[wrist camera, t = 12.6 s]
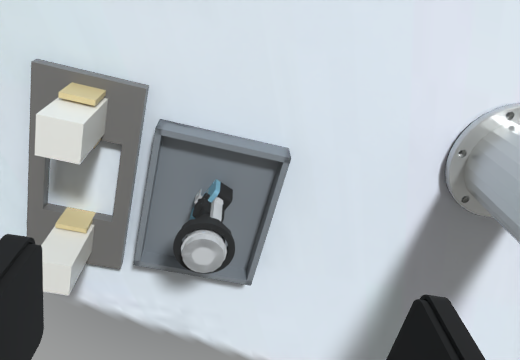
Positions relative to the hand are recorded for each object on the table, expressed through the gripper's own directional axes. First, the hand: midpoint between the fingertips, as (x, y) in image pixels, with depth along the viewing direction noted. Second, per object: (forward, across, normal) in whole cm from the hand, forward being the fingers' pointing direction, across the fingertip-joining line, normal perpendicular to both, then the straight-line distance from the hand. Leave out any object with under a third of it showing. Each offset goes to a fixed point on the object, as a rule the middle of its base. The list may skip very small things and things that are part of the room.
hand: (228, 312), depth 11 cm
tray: (+32, 0, +16) cm, 36 cm away
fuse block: (+32, +13, +14) cm, 38 cm away
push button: (+32, +1, +15) cm, 35 cm away
